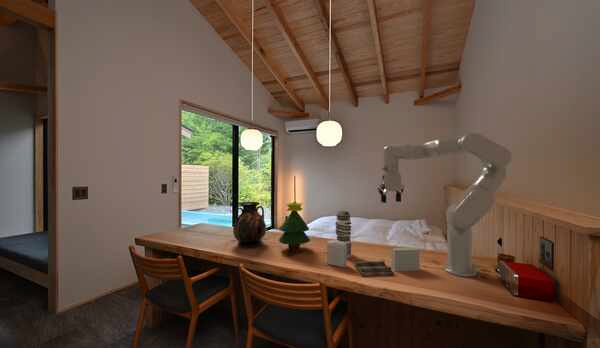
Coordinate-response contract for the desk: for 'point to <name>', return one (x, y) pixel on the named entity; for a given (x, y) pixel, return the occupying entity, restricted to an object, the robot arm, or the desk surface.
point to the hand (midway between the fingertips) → (391, 202)
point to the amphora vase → (249, 225)
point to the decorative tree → (294, 228)
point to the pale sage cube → (405, 259)
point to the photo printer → (336, 253)
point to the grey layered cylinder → (344, 229)
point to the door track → (373, 269)
